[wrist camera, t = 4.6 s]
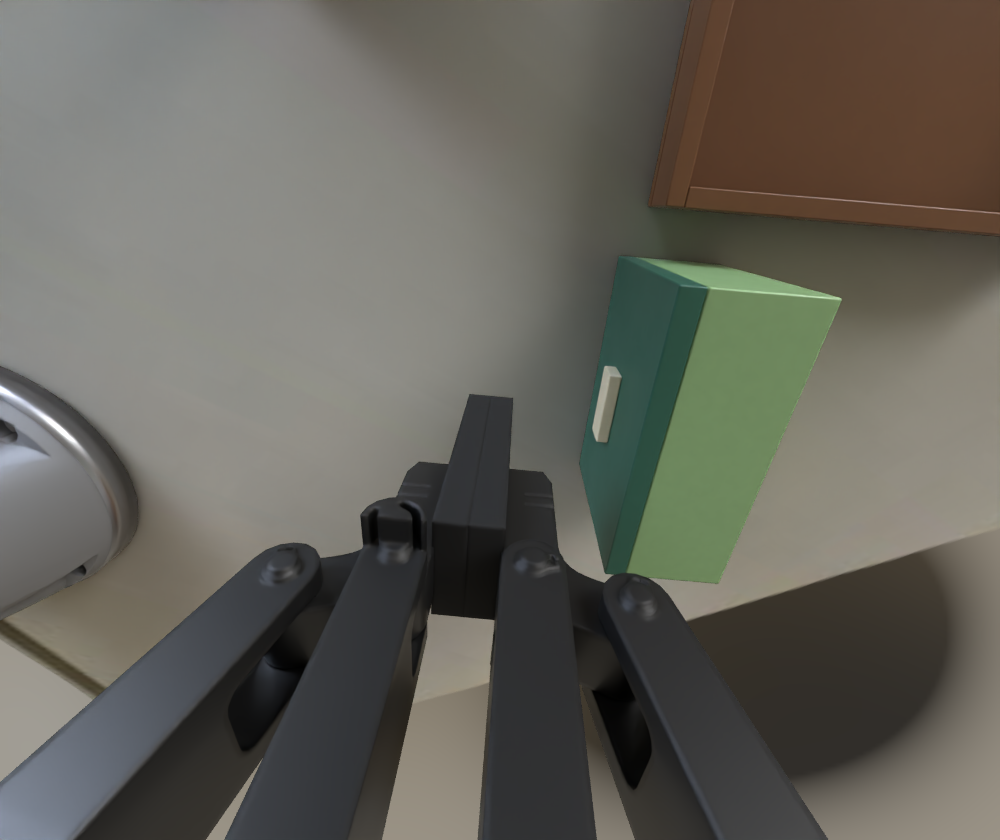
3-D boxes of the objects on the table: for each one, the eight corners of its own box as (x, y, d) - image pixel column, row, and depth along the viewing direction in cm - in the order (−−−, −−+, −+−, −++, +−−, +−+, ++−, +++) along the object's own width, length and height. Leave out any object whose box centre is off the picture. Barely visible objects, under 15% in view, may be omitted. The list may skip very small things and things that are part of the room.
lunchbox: (570, 463, 24) (591, 573, 16) (607, 254, 19) (661, 282, 12) (658, 470, 24) (718, 584, 16) (719, 264, 19) (843, 298, 11)
